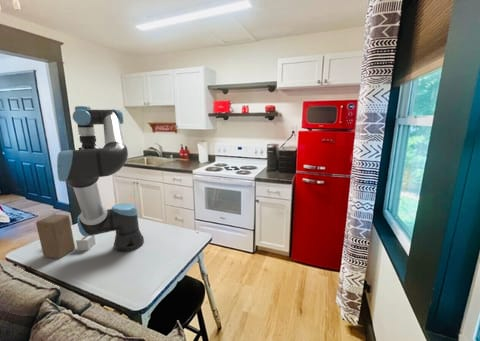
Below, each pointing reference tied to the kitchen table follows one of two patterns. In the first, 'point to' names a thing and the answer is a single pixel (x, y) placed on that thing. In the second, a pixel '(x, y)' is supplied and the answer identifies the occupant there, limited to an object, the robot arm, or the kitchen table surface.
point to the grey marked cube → (85, 242)
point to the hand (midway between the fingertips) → (93, 176)
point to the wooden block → (55, 235)
